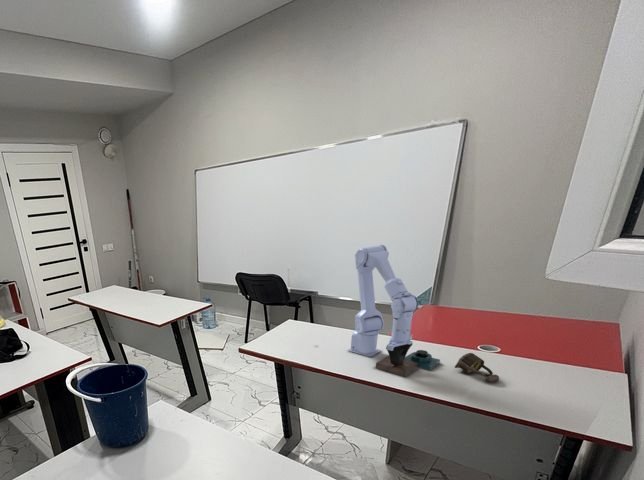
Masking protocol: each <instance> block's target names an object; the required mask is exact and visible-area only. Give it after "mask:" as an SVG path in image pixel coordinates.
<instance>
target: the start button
mask: <svg viewBox="0 0 644 480" xmlns="http://www.w3.org/2000/svg"><path fill="white" fill-rule="evenodd" d="M415 352H416V356H418V357H427V354H428V353H429V352H428V351H427V350H424V349H418V350H416V351H415Z"/></svg>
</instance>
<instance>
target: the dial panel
mask: <svg viewBox="0 0 644 480" xmlns="http://www.w3.org/2000/svg"><path fill="white" fill-rule="evenodd" d="M418 368H419V367H418V363H416V362H412V361H408V360H404V361H403V364H402V365H394V364H391V361H390V356H389V354H388V355H387V356H385V357H383V358H382V359H379V360H377V362H375V369H377V370H380V371H383V372H387V373H390V374H394V375H397V376H401V377H403V378H407V377H408V376H409V375H411V374H412V373H414V372H415V371H416V370H418Z"/></svg>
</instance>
